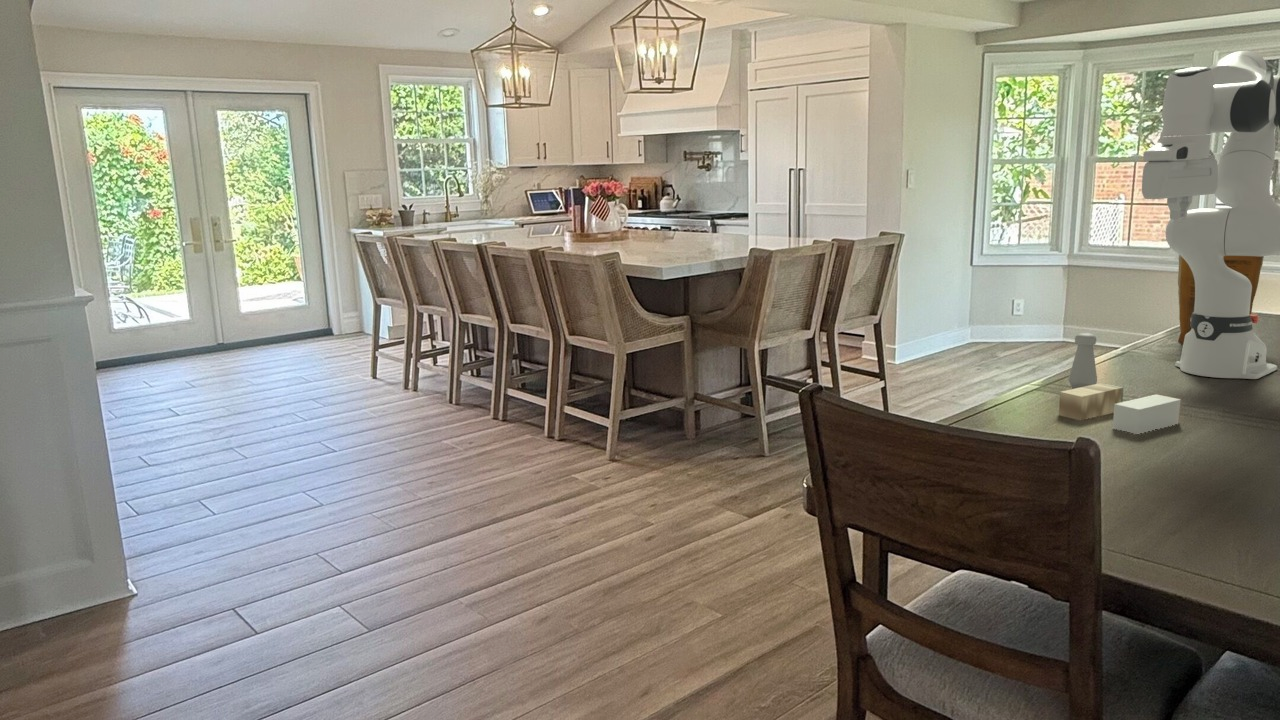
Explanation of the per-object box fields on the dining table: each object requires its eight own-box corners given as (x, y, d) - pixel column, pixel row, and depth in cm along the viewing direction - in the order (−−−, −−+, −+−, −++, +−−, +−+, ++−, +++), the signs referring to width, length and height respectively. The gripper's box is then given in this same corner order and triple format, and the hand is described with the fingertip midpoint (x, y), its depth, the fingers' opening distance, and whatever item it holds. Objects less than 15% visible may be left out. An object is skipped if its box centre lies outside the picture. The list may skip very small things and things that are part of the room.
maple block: (1101, 382, 188) (1060, 391, 182) (1123, 387, 183) (1081, 396, 178) (1099, 405, 189) (1058, 415, 183) (1121, 410, 184) (1080, 420, 179)
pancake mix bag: (1253, 351, 234) (1265, 244, 228) (1170, 344, 245) (1179, 243, 240) (1255, 346, 239) (1266, 242, 233) (1173, 340, 251) (1182, 241, 245)
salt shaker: (1099, 393, 198) (1103, 336, 196) (1071, 393, 200) (1075, 336, 197) (1092, 387, 204) (1096, 331, 201) (1065, 386, 205) (1068, 331, 202)
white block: (1156, 394, 177) (1114, 403, 172) (1181, 399, 173) (1139, 409, 167) (1154, 418, 178) (1112, 428, 173) (1179, 424, 174) (1136, 435, 168)
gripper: (1199, 149, 188) (1193, 215, 191) (1137, 152, 179) (1132, 222, 182) (1230, 148, 182) (1223, 216, 185) (1168, 151, 173) (1162, 223, 176)
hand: (1178, 219), depth 183 cm, fingers closed
